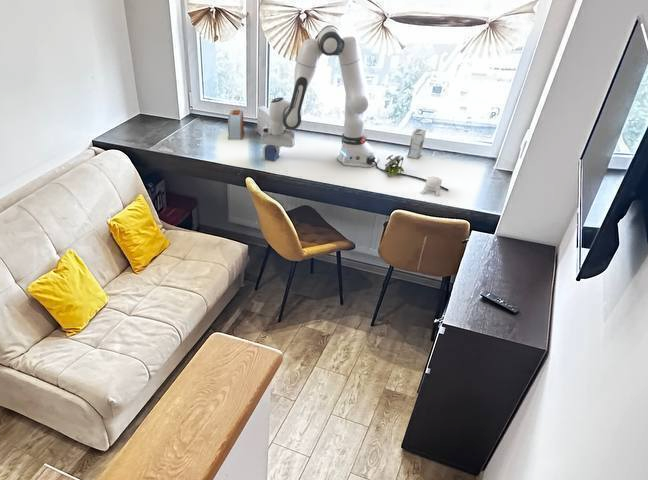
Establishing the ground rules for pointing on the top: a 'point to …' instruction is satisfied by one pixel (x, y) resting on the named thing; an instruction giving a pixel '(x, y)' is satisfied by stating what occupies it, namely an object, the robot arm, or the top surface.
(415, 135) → the syrup box
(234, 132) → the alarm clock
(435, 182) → the white lumpy piece
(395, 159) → the passion flower
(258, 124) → the skincare box
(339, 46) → the robot arm
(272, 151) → the dark blue cube
